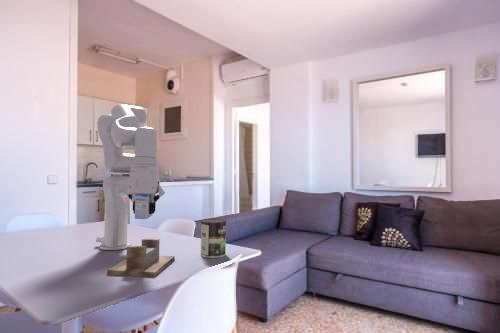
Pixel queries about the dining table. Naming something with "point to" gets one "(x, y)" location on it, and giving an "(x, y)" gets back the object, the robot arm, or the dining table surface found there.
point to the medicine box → (142, 206)
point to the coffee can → (213, 238)
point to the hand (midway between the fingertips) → (143, 212)
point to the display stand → (142, 260)
